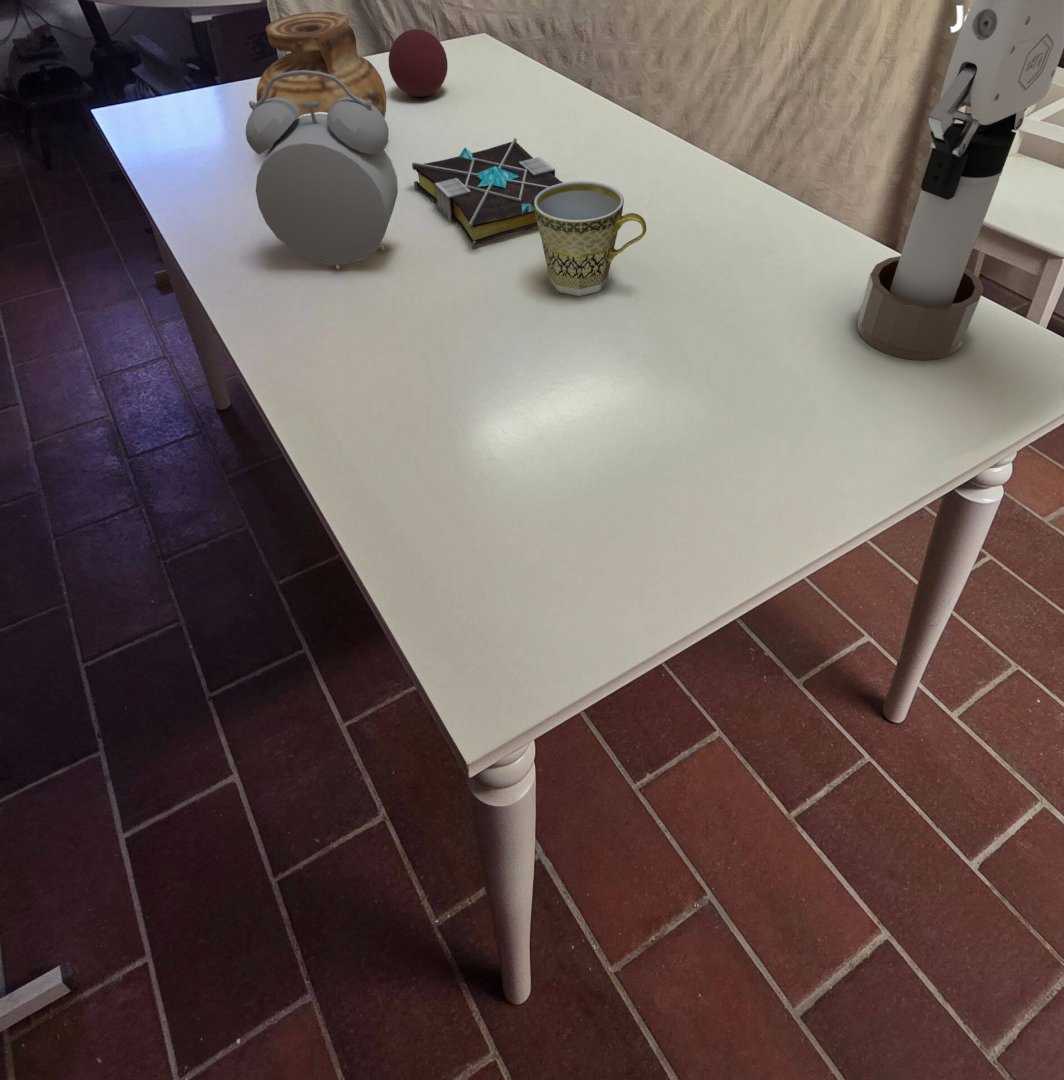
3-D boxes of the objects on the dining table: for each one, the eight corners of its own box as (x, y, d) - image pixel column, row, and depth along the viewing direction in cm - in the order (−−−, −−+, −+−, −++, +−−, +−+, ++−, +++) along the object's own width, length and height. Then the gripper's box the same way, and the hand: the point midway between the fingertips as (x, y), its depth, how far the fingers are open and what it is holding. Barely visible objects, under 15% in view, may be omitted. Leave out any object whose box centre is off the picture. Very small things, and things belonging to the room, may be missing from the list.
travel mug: (865, 317, 90) (924, 122, 75) (913, 303, 91) (979, 110, 77) (906, 345, 86) (977, 145, 71) (955, 330, 87) (1033, 131, 73)
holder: (983, 334, 88) (1004, 284, 84) (921, 372, 84) (940, 321, 80) (898, 294, 95) (913, 244, 90) (836, 328, 90) (849, 277, 86)
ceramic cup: (523, 294, 98) (519, 212, 90) (556, 255, 104) (555, 175, 96) (627, 315, 94) (631, 231, 86) (655, 273, 100) (661, 191, 92)
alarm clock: (413, 243, 107) (385, 55, 91) (400, 277, 101) (368, 83, 85) (290, 242, 109) (241, 57, 93) (271, 276, 103) (215, 84, 87)
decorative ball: (454, 102, 141) (448, 36, 134) (396, 108, 140) (386, 42, 133) (446, 82, 148) (439, 18, 141) (390, 88, 147) (381, 24, 139)
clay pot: (229, 149, 123) (226, -9, 114) (314, 154, 138) (317, 15, 129) (329, 169, 116) (334, 3, 107) (407, 173, 131) (417, 27, 122)
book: (588, 219, 110) (589, 182, 106) (473, 251, 105) (469, 213, 101) (518, 161, 123) (516, 126, 120) (412, 187, 119) (407, 151, 115)
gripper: (1019, -14, 59) (938, 225, 72) (1144, -57, 66) (1049, 169, 79) (928, -33, 63) (867, 196, 77) (1054, -72, 70) (978, 145, 83)
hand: (960, 181), depth 78 cm, fingers closed on travel mug, 6 cm apart
